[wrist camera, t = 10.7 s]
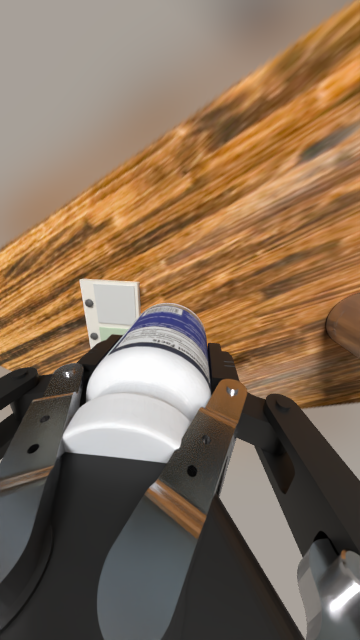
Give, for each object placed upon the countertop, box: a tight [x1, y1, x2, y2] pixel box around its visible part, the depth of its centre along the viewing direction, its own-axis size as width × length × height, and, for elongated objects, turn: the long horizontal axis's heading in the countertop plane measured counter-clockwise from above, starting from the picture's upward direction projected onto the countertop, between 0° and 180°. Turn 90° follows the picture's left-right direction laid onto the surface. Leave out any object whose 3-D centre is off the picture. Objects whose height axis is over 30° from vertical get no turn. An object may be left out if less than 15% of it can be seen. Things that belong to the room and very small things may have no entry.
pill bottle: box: [62, 303, 212, 463], centre depth 10 cm, size 6×6×10 cm
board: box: [80, 279, 141, 349], centre depth 35 cm, size 10×24×1 cm, turn 178°
